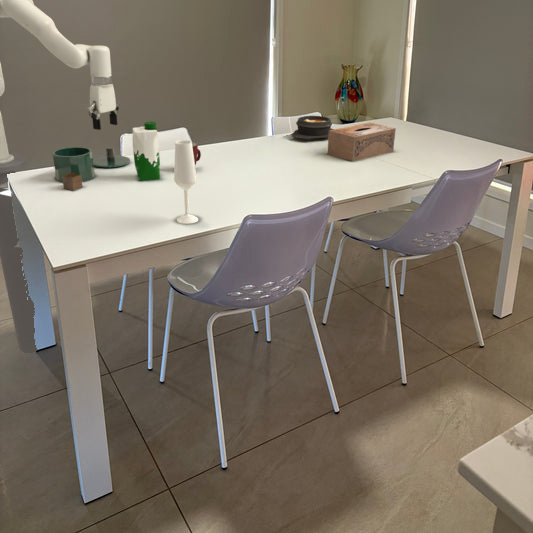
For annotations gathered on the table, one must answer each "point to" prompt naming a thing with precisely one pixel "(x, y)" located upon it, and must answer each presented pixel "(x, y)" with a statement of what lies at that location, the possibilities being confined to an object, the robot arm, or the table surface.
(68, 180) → the block
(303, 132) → the casserole
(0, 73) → the robot arm
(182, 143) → the champagne flute
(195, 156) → the mug
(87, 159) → the pot
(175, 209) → the table surface
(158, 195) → the table surface
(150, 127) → the milk carton
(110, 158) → the lid
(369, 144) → the tissue box cover
